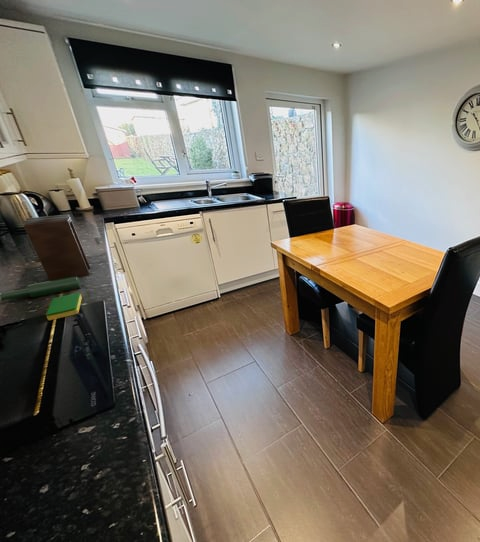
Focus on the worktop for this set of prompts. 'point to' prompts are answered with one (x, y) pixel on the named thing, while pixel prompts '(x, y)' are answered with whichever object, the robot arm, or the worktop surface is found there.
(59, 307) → the dish sponge
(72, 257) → the dark brown block
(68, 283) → the bottle
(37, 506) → the worktop surface
